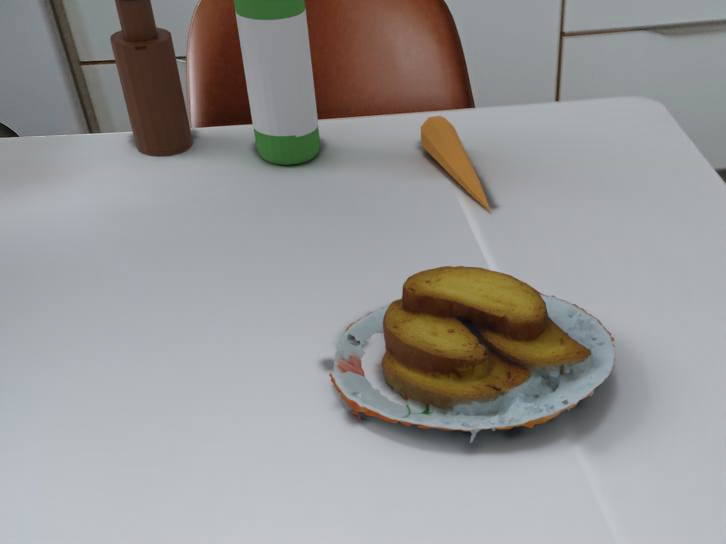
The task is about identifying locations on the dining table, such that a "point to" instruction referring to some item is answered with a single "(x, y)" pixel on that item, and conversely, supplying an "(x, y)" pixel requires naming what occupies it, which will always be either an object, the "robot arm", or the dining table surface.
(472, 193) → the carrot
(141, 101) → the bottle
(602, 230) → the dining table surface
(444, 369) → the food on plate
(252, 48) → the wine bottle
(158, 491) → the dining table surface
